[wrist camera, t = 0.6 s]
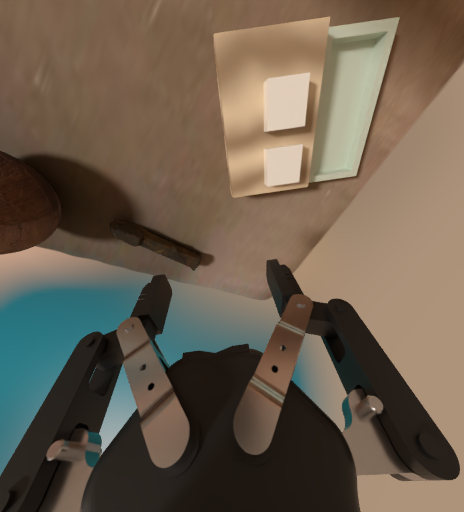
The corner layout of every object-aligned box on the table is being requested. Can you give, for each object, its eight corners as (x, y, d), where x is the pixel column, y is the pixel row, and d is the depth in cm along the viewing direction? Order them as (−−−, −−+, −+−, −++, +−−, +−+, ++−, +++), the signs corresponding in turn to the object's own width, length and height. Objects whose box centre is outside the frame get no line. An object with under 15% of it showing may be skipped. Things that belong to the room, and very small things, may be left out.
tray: (317, 37, 23) (327, 27, 21) (383, 27, 23) (399, 16, 21) (301, 180, 33) (307, 182, 31) (347, 173, 33) (356, 175, 31)
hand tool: (203, 252, 41) (202, 263, 37) (195, 263, 43) (193, 275, 39) (120, 208, 34) (108, 217, 30) (114, 223, 35) (102, 234, 32)
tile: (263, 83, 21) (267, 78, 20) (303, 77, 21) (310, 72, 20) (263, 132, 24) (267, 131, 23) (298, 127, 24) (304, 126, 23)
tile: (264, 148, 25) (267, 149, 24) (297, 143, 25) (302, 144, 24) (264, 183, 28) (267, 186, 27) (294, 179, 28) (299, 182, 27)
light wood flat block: (214, 52, 23) (213, 33, 19) (309, 38, 23) (330, 16, 19) (230, 190, 33) (232, 197, 29) (296, 180, 33) (307, 186, 29)
